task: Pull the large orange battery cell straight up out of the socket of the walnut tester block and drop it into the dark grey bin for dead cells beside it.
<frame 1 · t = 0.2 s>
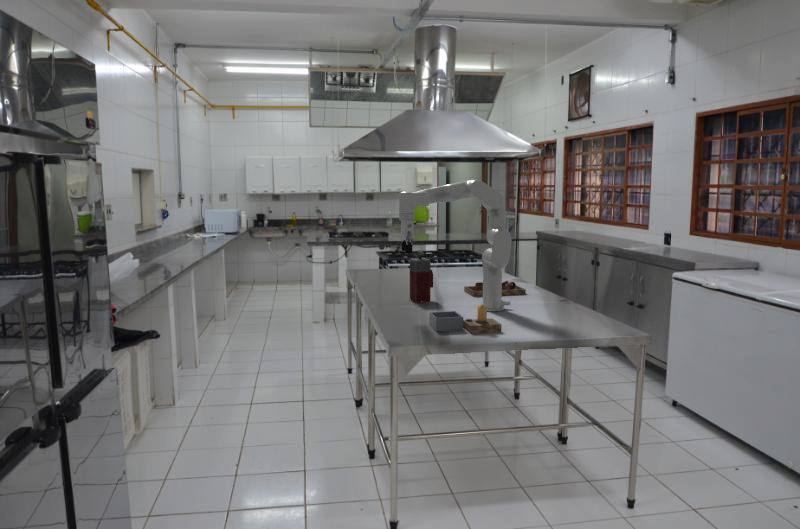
hand: (407, 251, 279), 31 cm above the table, tool pointing down, fingers open, 9 cm apart
cell: (481, 326, 250), point 1 cm above the table, touching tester
serving frame: (494, 292, 336), on the table
bin: (445, 327, 255), on the table
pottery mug: (507, 292, 337), on the table
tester: (481, 329, 251), on the table
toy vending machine: (421, 300, 316), on the table
cup and saucer: (481, 294, 335), on the table
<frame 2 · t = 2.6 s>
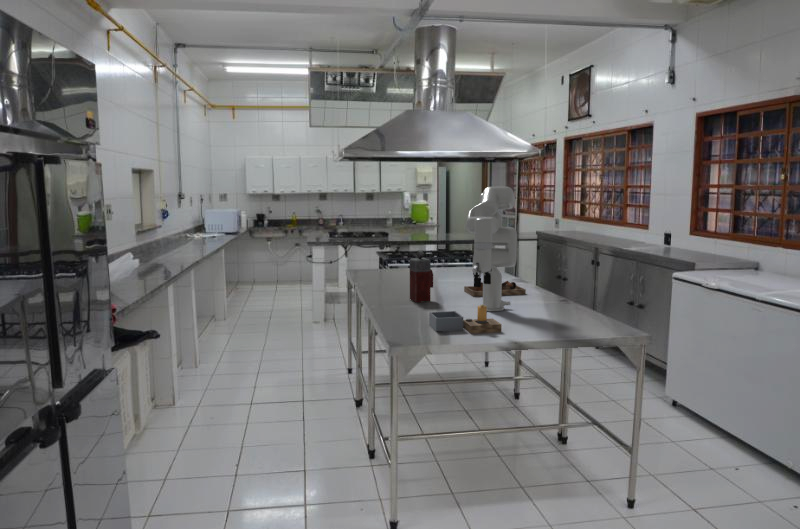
hand: (482, 285, 247), 20 cm above the table, tool pointing down, fingers open, 9 cm apart
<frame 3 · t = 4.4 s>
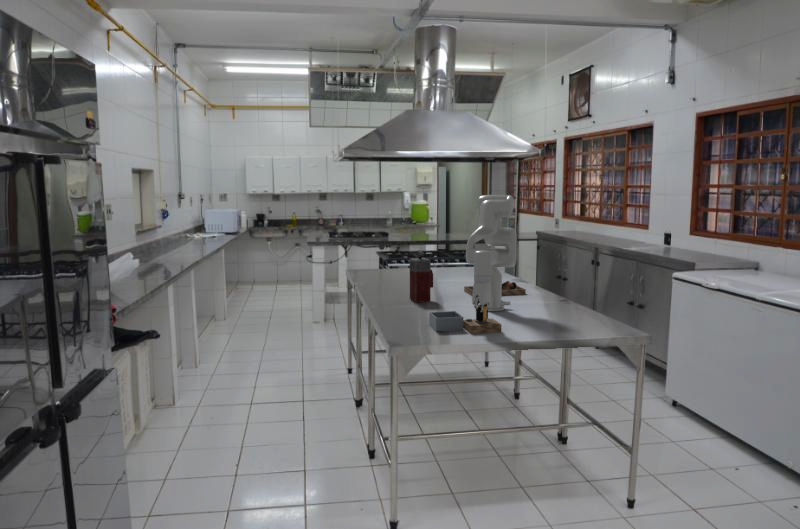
hand: (482, 319, 250), 5 cm above the table, tool pointing down, fingers closed on cell, 4 cm apart
cell: (481, 326, 250), point 1 cm above the table, touching gripper, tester
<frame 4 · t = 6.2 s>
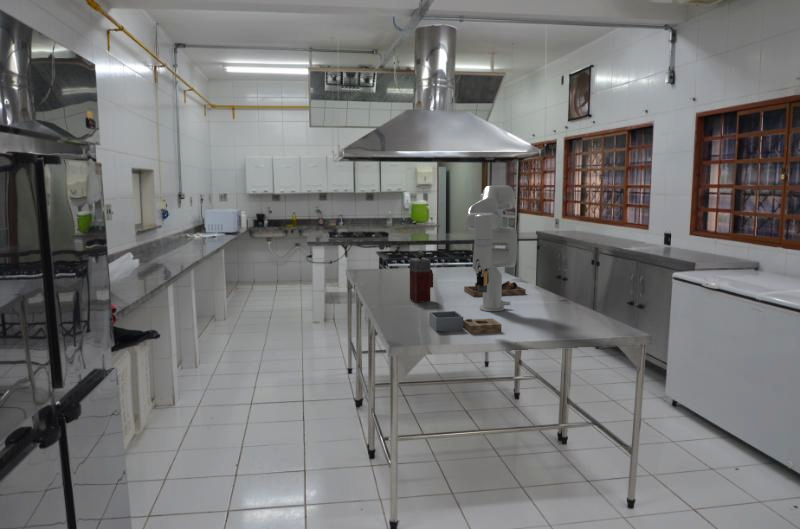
hand: (482, 284, 248), 21 cm above the table, tool pointing down, fingers closed on cell, 4 cm apart
cell: (482, 291, 248), point 17 cm above the table, touching gripper
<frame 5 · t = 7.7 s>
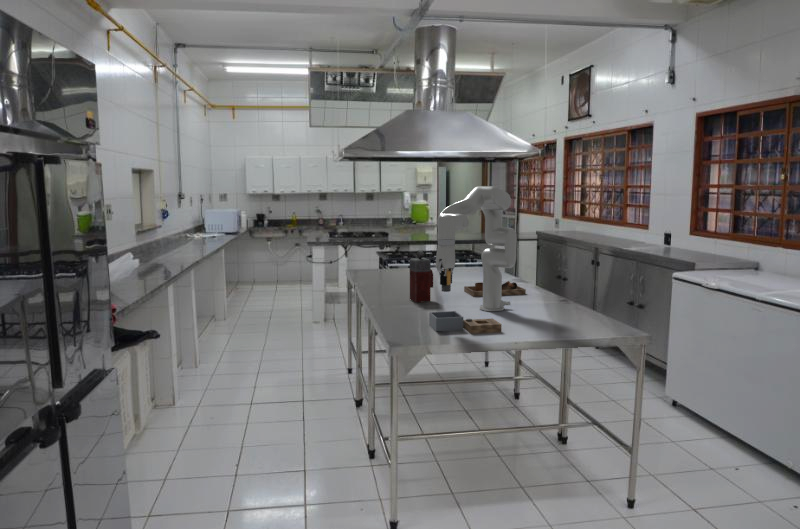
hand: (446, 283, 252), 20 cm above the table, tool pointing down, fingers closed on cell, 4 cm apart
cell: (446, 290, 252), point 17 cm above the table, touching gripper
when the fingers open (6 cm above the table, at t = 10.0 s): cell drops 2 cm, resting on bin.
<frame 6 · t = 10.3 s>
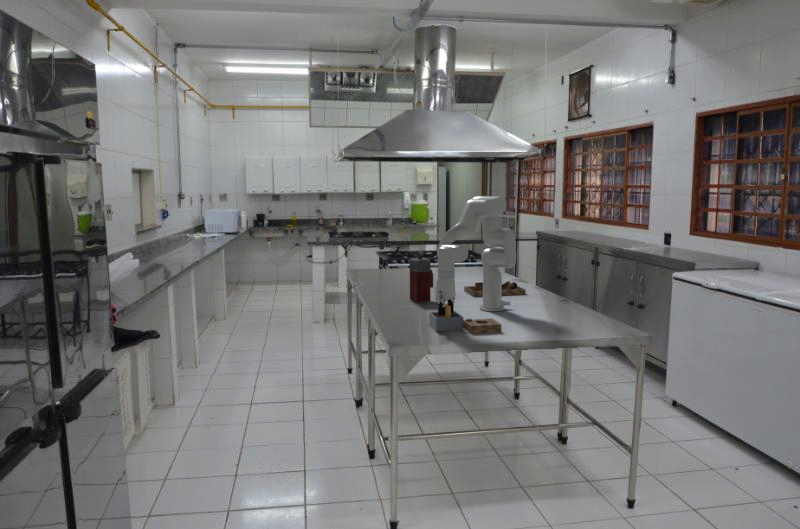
hand: (446, 313, 254), 7 cm above the table, tool pointing down, fingers open, 7 cm apart
cell: (446, 325, 255), point 1 cm above the table, touching bin
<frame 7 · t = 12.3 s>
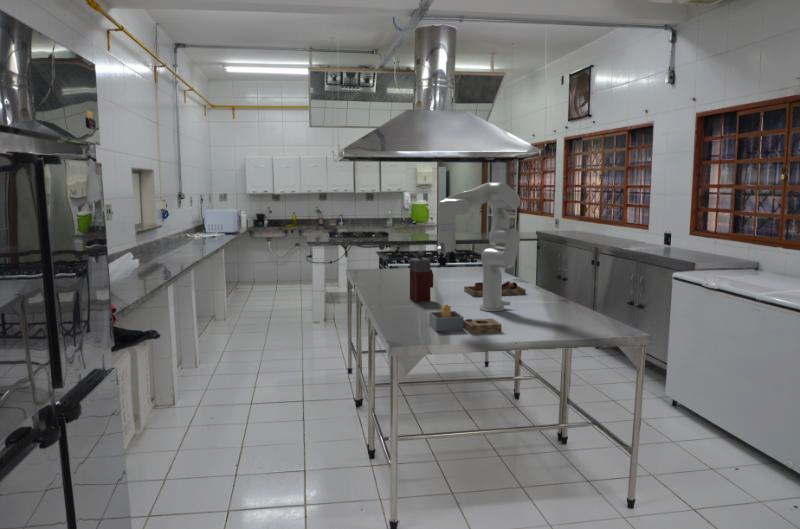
hand: (447, 264, 263), 27 cm above the table, tool pointing down, fingers open, 9 cm apart
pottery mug: (508, 293, 335), on the table, touching serving frame
everything else where it was.
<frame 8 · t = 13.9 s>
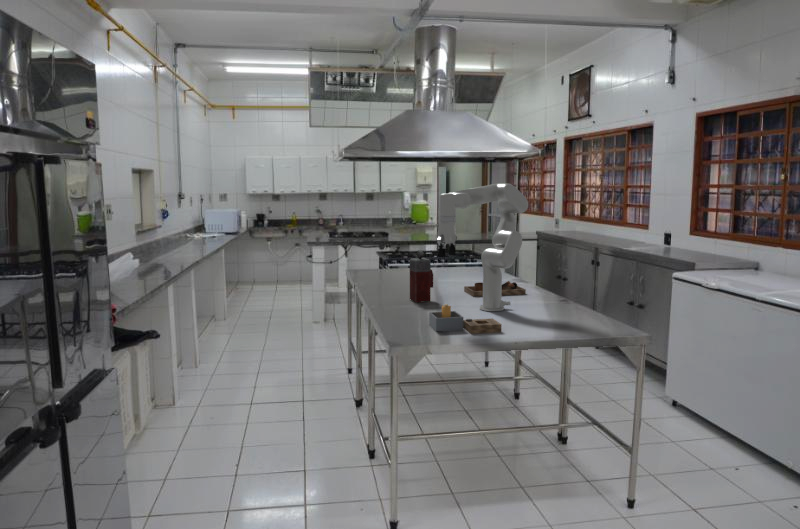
hand: (447, 255, 269), 30 cm above the table, tool pointing down, fingers open, 9 cm apart
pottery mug: (508, 293, 335), on the table
everything else where it was.
at the end: cell inside the target area on the bin (0.1 cm from its centre), point 0.8 cm above the bin's base; the gripper is holding nothing; cell moved 16.1 cm from its start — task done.
